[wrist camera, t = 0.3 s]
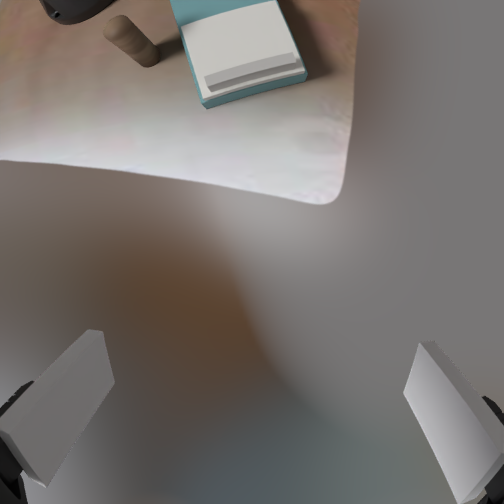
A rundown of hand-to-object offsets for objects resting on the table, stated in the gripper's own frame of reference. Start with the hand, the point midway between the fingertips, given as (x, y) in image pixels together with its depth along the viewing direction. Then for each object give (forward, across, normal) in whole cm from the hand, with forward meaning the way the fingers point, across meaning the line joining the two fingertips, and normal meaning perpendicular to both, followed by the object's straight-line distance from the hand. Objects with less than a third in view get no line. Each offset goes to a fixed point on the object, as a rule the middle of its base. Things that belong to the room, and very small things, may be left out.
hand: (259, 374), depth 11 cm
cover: (+22, -3, +22) cm, 32 cm away
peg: (+26, -15, +23) cm, 38 cm away
